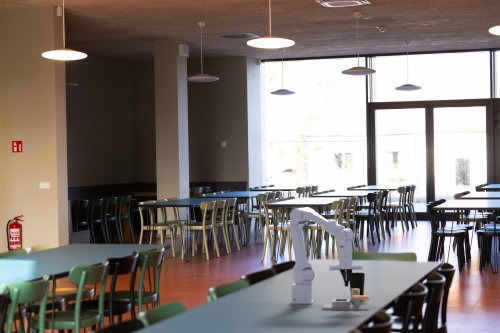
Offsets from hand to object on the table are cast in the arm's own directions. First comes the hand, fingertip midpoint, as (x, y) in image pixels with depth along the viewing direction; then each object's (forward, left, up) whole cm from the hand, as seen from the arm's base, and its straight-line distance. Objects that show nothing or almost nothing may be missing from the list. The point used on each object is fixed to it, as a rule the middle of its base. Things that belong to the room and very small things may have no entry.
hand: (346, 286), depth 352 cm
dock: (-2, -1, -10) cm, 10 cm away
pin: (+6, -1, -6) cm, 8 cm away
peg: (+4, +7, -10) cm, 12 cm away
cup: (+4, +21, -10) cm, 24 cm away
